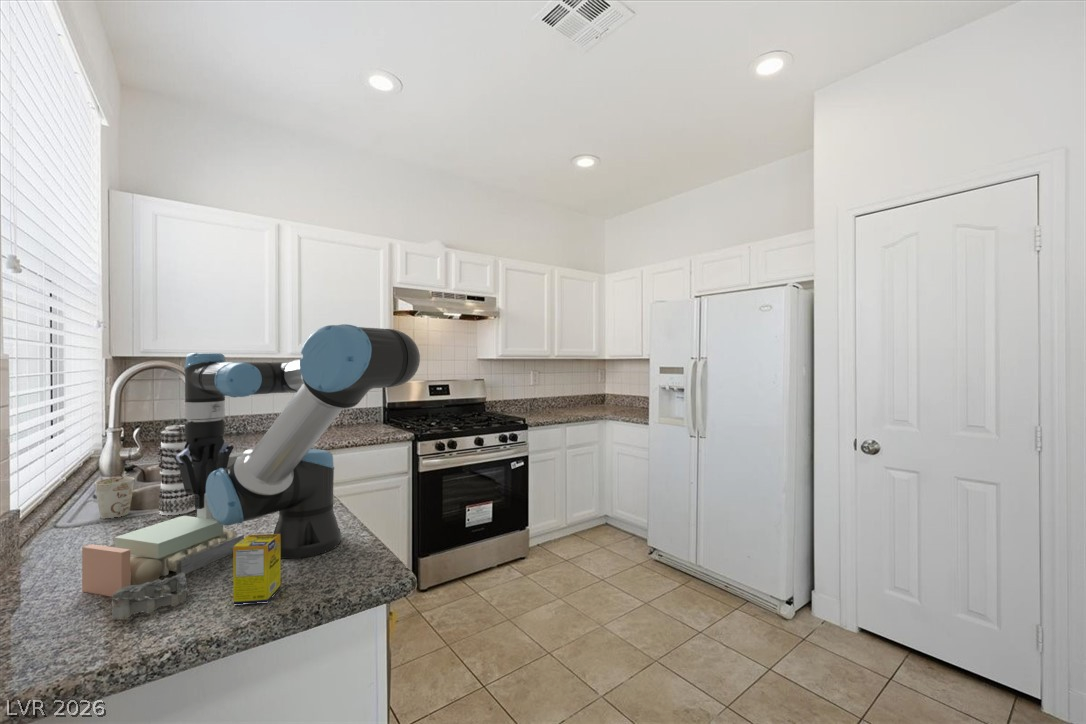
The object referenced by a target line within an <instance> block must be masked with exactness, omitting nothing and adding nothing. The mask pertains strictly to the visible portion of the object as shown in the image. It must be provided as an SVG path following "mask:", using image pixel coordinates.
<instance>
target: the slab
mask: <svg viewBox="0 0 1086 724" xmlns="http://www.w3.org/2000/svg"><path fill="white" fill-rule="evenodd" d="M223 529H224V525H223V524H221V523H219V522H218V521H216V519H215V518H214V519H213V518H212V519H207V518H198V517H197V516H196V517H195V516H189V515H181V516H177V517H175V518H174V517H173V518H172V519H168V520H164V521H162V522H158V523H156V524H155V523H154V524H152V525H148V526H146V527H142V528H139V529H136V530H133V531H130V532H127V533H123V534H120V535H117V536H114V546H113V547H116V548H123V549H130V556H131V555H137V556H144V557H150V558H156V559H159V558H161V557H164V556H167V555H169V554H172V553H174V552H177V551H180V550H182V549H185V548H187V547H190V546H193V545H195V544H198V543H200V542H203V541H206V540H208V539H211V538H213V537H216V536H219V535H221V534H223Z"/></svg>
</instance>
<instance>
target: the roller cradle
mask: <svg viewBox="0 0 1086 724" xmlns="http://www.w3.org/2000/svg"><path fill="white" fill-rule="evenodd" d="M139 557H142V558H149V559H156V558H150V557H144V556H139ZM156 560H159V561H160V562H161V563H162V566H163V570H162V573H161V575H160V577H161V576H163V577H166V576H167V575H169V573H170V571H169V569H168V568H167V566H166V561H167V558H164V557H161V558H159V559H156ZM130 585H131V572H130Z"/></svg>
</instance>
